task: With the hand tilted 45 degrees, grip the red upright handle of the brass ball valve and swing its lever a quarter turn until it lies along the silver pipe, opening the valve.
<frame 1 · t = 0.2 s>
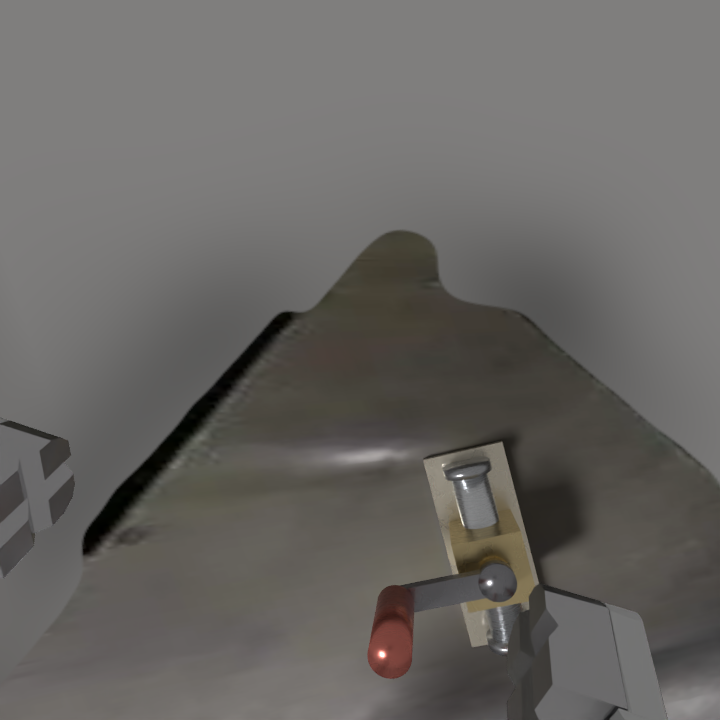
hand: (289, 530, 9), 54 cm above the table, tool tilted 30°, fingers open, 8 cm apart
lever: (447, 614, 49), point 14 cm above the table, hinge at 90.0°
pipe valve: (486, 543, 62), on the table
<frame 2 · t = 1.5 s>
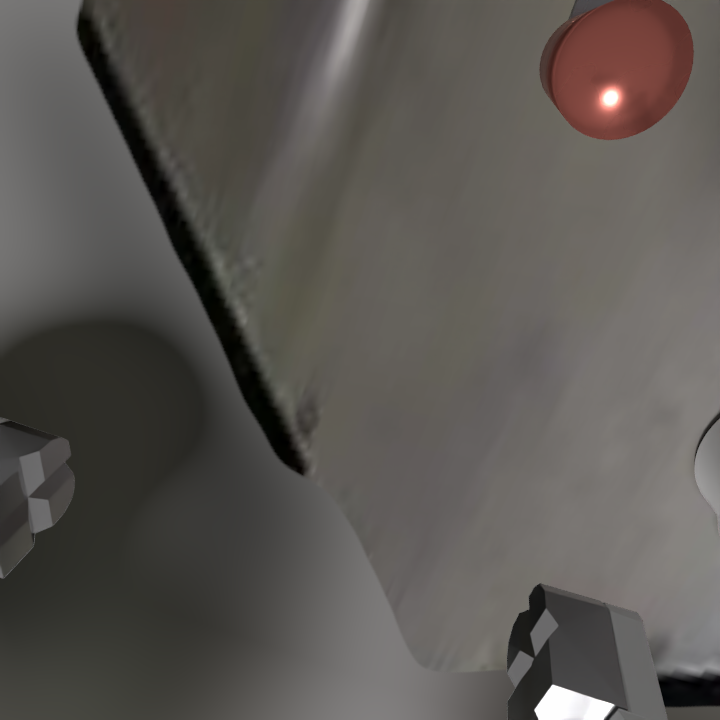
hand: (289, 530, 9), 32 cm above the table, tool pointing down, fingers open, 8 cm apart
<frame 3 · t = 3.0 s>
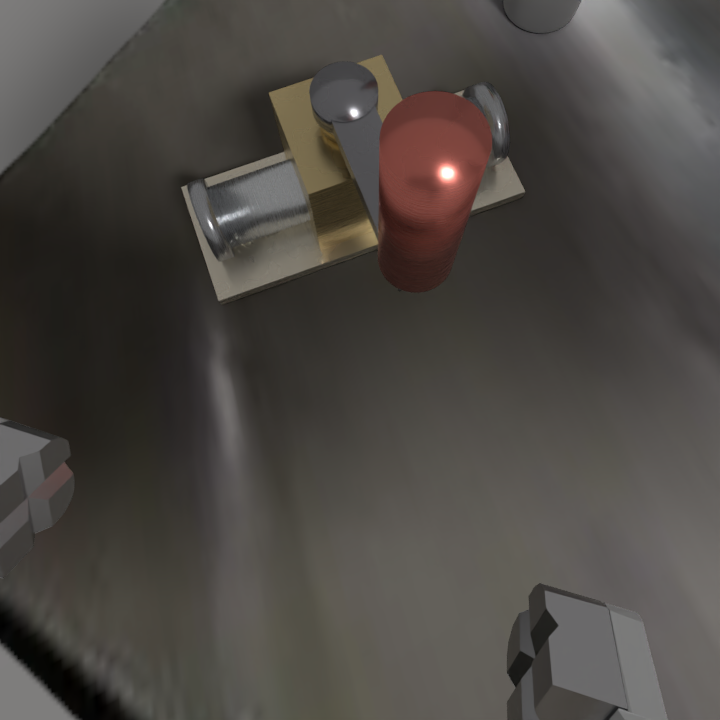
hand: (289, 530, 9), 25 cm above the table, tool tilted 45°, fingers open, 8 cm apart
lever: (378, 118, 24), point 14 cm above the table, hinge at 90.0°
lotion bottle: (538, 7, 42), on the table
pipe valve: (351, 195, 38), on the table
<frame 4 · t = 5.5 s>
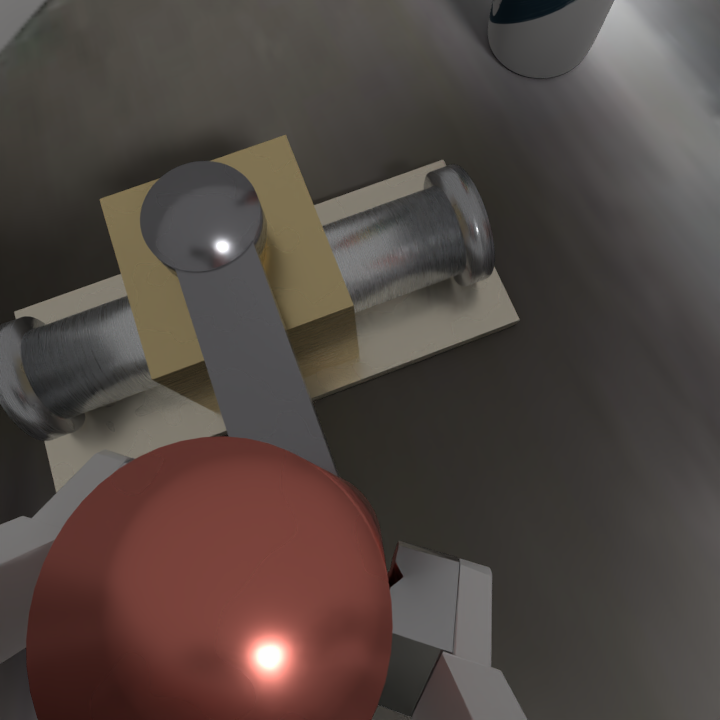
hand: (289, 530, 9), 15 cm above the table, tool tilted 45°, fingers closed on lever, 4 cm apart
lever: (210, 323, 11), point 14 cm above the table, hinge at 90.0°, touching gripper
lotion bottle: (536, 40, 30), on the table
pipe valve: (266, 320, 26), on the table
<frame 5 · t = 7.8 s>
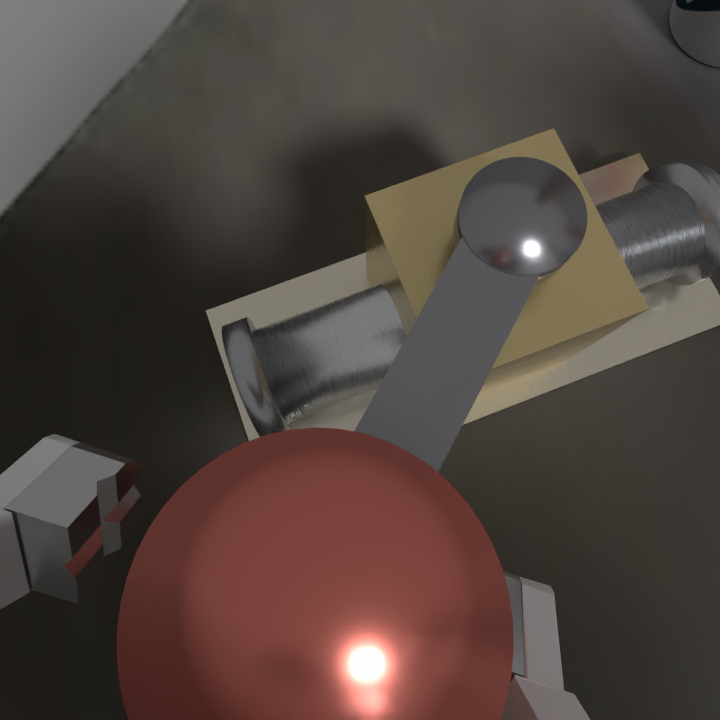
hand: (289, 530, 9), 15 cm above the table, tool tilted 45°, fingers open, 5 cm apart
lever: (467, 322, 11), point 14 cm above the table, hinge at 40.0°, touching gripper
lotion bottle: (718, 28, 29), on the table
pipe valve: (463, 320, 26), on the table
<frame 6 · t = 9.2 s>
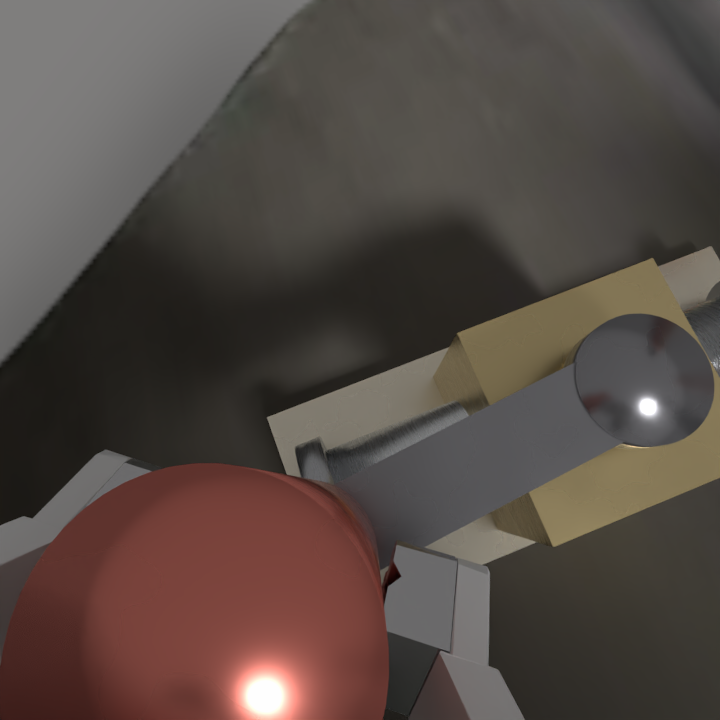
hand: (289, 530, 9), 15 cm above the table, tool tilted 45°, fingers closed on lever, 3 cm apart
lever: (520, 452, 10), point 14 cm above the table, hinge at 5.1°, touching gripper
pipe valve: (533, 423, 25), on the table
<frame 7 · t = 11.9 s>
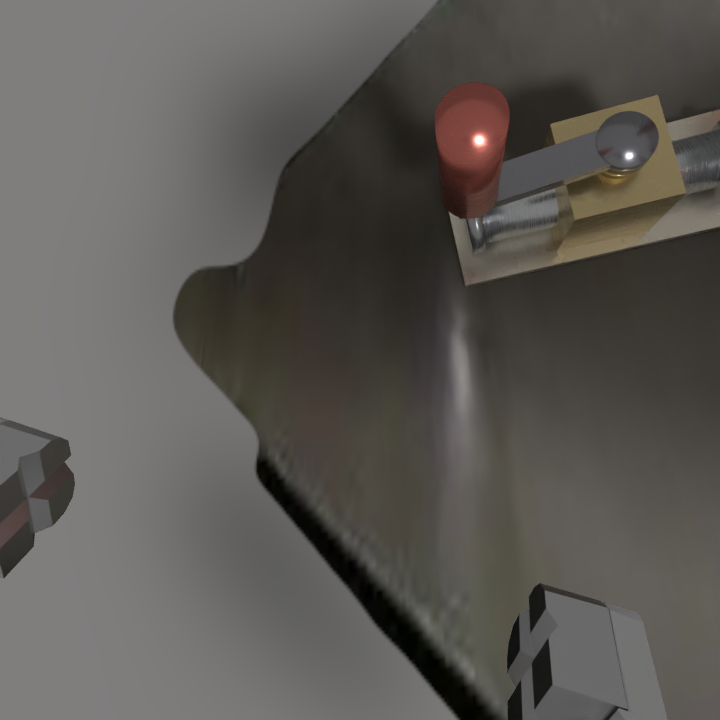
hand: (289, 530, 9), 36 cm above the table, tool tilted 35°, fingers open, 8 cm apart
lever: (557, 134, 31), point 14 cm above the table, hinge at 4.3°
pipe valve: (589, 202, 44), on the table
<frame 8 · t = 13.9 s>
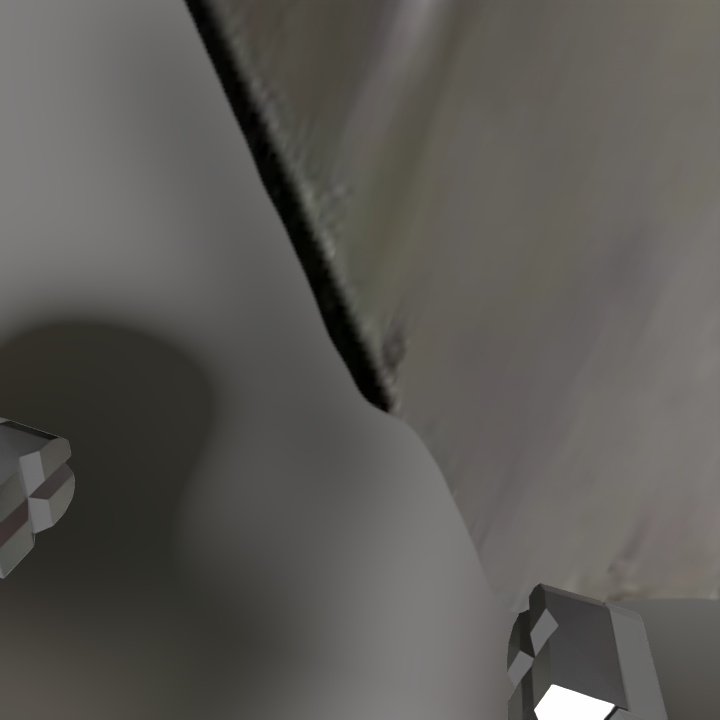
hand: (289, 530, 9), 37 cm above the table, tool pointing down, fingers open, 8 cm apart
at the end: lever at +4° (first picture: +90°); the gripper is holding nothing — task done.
